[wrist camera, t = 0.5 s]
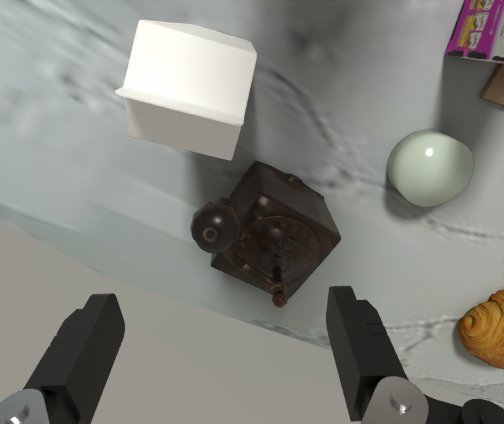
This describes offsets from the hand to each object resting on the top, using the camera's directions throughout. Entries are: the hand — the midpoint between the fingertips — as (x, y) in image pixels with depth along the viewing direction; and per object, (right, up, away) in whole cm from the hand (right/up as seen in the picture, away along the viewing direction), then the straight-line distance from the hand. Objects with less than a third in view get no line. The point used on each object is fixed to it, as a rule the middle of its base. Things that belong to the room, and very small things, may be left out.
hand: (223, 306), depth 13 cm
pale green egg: (+21, +10, +28) cm, 36 cm away
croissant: (+42, -13, +41) cm, 60 cm away
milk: (-3, +19, +22) cm, 29 cm away
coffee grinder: (+1, +5, +30) cm, 30 cm away
